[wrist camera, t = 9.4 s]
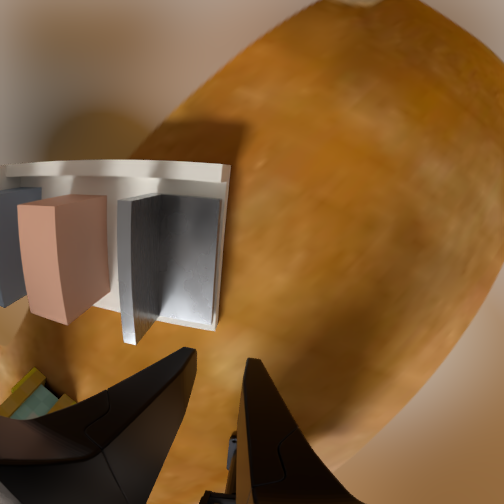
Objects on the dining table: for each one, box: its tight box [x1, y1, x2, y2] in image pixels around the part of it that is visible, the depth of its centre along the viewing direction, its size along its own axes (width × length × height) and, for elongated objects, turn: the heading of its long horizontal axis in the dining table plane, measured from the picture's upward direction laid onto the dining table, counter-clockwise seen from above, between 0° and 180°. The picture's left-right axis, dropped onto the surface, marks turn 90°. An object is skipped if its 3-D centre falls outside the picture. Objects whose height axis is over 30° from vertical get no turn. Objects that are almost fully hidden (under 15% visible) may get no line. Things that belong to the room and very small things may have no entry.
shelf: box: [0, 160, 231, 331], centre depth 17 cm, size 11×19×6 cm, turn 84°
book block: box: [17, 194, 110, 325], centre depth 16 cm, size 7×4×6 cm, turn 175°
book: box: [0, 367, 76, 420], centre depth 16 cm, size 17×7×25 cm, turn 145°
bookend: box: [117, 193, 222, 345], centre depth 16 cm, size 8×4×4 cm, turn 174°
